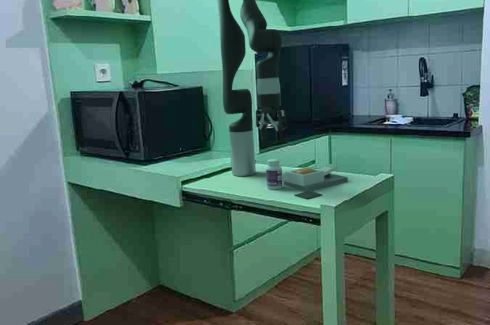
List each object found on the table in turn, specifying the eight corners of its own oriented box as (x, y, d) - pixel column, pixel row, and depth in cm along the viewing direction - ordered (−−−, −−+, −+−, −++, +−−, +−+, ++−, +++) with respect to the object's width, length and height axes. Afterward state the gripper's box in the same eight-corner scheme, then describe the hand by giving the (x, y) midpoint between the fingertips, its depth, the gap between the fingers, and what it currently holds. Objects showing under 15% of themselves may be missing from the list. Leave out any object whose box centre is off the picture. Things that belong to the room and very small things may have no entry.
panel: (283, 185, 156) (282, 171, 155) (321, 175, 165) (321, 162, 164) (308, 191, 145) (307, 176, 144) (347, 181, 154) (347, 167, 153)
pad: (294, 195, 141) (294, 194, 141) (309, 191, 145) (309, 190, 144) (307, 199, 136) (307, 198, 136) (321, 195, 140) (321, 194, 139)
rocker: (313, 175, 157) (313, 171, 157) (330, 167, 161) (329, 163, 160) (321, 177, 154) (321, 173, 153) (338, 168, 157) (337, 164, 157)
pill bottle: (281, 189, 150) (280, 161, 148) (266, 189, 151) (264, 161, 149) (283, 185, 155) (282, 158, 153) (268, 185, 156) (266, 158, 155)
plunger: (292, 176, 153) (292, 170, 153) (306, 173, 156) (305, 167, 156) (304, 179, 148) (303, 172, 148) (317, 176, 151) (317, 169, 151)
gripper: (247, 93, 151) (251, 141, 154) (272, 92, 139) (275, 144, 142) (265, 91, 155) (268, 138, 158) (291, 91, 143) (294, 141, 146)
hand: (272, 141), depth 150 cm, fingers open, 8 cm apart
